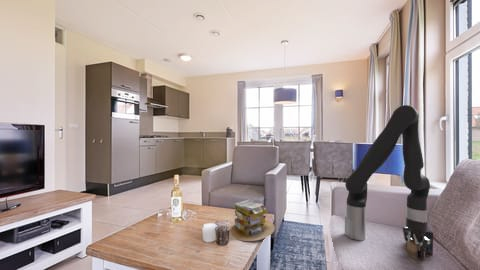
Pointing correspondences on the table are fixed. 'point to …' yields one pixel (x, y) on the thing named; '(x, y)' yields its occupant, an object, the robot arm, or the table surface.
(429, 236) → the small box
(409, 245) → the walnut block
